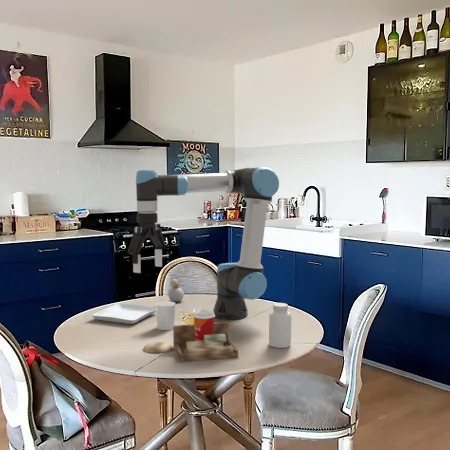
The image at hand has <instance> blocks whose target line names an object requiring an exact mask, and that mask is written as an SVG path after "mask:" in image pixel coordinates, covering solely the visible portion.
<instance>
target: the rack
mask: <svg viewBox="0 0 450 450" xmlns="http://www.w3.org/2000/svg"><path fill="white" fill-rule="evenodd" d="M229 329H230V327H229V322H228V321H221V322H214V330H213V334H211V335H204V341H195V325H194V323H191V324H190V323H189V324H178V325H177V324H176V325H175V324H174V325H173V329H172V330H173V333H172V334H173V335H172V336H173V339H172V340H173V344H172V348H173V350H174V352H175V354H176V355H175V356H176V358H177V360H178V362H179V363H185V362H196V361H197V362H198V361H208V360H209V361H210V360H212V361H213V360H222V359H223V360H224V359H234V358H235V359H236V358H239V349H238V348H237V347H236V346H235V344H234V343H233V342H232V340H231V338H230V337H229V334H230V333H229V332H230V331H229ZM181 348H182V349H183V348H185V349H184V354H183V352H182V350H181Z"/></svg>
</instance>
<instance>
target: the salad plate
mask: <svg viewBox="0 0 450 450" xmlns="http://www.w3.org/2000/svg"><path fill="white" fill-rule="evenodd" d="M154 313H155V314H156V306H149V305H141V304H133V303H124V302H123V303H122V302H118V303H115V304H113V305H111V306H108V307H106V308H104V309H102V310H99V311H97V312H95V313H92V314H91V316H92V317H93V318H94V319H96V320H98V321H104V322H109V323H116V324H117V323H118V324H125V325H134V324H136V323H137V322H139V321H142V320H143V319H145V318H147V317H149V316H151V315H153V314H154Z"/></svg>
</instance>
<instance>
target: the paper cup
mask: <svg viewBox="0 0 450 450" xmlns="http://www.w3.org/2000/svg"><path fill="white" fill-rule="evenodd" d="M192 316H193V321H194V323H193V324H194V325H195V341H204V335H211V334H213V330H214V323H215V318H216V317H215V314H214V311H213V310H212V309H197V310H195V311H194V312H193V314H192Z"/></svg>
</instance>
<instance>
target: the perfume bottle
mask: <svg viewBox="0 0 450 450" xmlns="http://www.w3.org/2000/svg"><path fill="white" fill-rule="evenodd" d="M170 286H172V287H171V288H170V289H169V291H168V298H169V301H170V302H174V303H179V302H182V301H183V300H184V297H185V292H184V290H183V289H182V288H181V287H180V283H179V282H178V279H177V277H175V278H173V279H171V280H170Z"/></svg>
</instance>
